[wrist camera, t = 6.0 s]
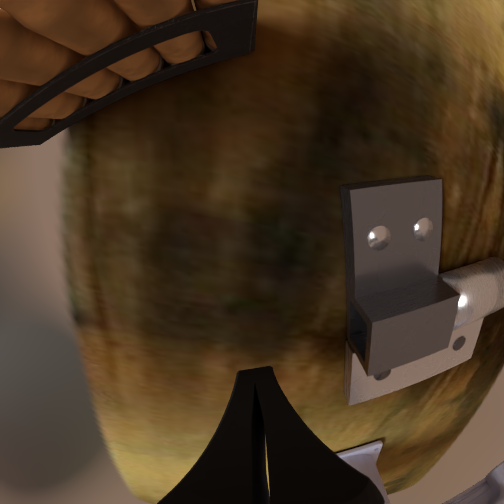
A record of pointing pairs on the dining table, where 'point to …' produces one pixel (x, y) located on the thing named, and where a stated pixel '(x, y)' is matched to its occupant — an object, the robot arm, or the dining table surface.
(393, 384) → the fixed leaf
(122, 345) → the dining table surface
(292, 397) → the dining table surface
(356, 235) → the loose leaf
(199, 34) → the ammunition clip
